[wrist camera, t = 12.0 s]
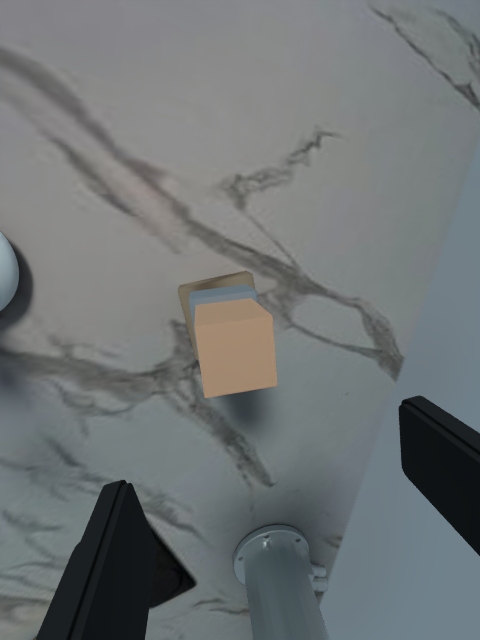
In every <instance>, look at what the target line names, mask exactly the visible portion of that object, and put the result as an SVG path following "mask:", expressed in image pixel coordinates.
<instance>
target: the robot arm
mask: <svg viewBox="0 0 480 640" xmlns="http://www.w3.org/2000/svg"><path fill="white" fill-rule="evenodd" d="M399 425H400V444H401V462H402V469H403V471H404V473H405V475H406V476H407V477H408V479H409V480H410V481H411V482H412V483H413V484H414V485H415V486H416V487H417V488H418V490H419V491H420V492H421V493H422V494H423V495H424V496H425V497H426V498H427V499H428V500H429V501H430V503H431V504H432V505H433V506H434V507H435V508H436V509H437V510H438V511H439V512H440V514H441V515H442V516H443V517H444V518H445V519H446V520H447V521H448V522H449V523H450V524H451V525H452V527H454V529H455V530H456V531H457V532H458V533H459V534H460V535H461V536H462V537H463V538H464V539H465V541H466V542H467V543H468V544H469V545H470V546H471V547H472V548H473V549H474V550H475V551H476V552H477V554H478V555H479V556H480V433H478V432H477V431H475V430H474V429H472V428H471V427H469V426H467V425H466V424H464V423H463V422H461V421H459V420H458V419H457V418H455V417H454V416H452V415H451V414H449V413H447V412H446V411H444V410H443V409H441V408H440V407H438V406H437V405H435V404H434V403H432V402H430V401H429V400H427V399H426V398H424V397H422V396H415V397H412V398H408V399H405V400H403V401H402V404H401V405H400V406H399ZM309 553H310V551H309V546H308V543H307V541H306V538H305V537H304V535H303V534H302V533H301V532H300V531H299V530H297V529H295V528H293V527H290V526H285V525H272V526H267V527H264V528H261V529H258V530H256V531H255V532H253V533H251V534H250V535H248V536H247V537H246V538H245V539H244V540H243V541H242V542H241V543H240V544H239V546H238V547H237V549H236V551H235V553H234V558H233V567H234V573H235V575H236V577H237V579H238V580H239V581H240V582H241V583H242V584H243V585H245V586H246V589H247V597H248V604H249V611H250V618H251V625H252V632H253V639H254V640H330V638H329V635H328V632H327V629H326V626H325V623H324V620H323V617H322V614H321V612H320V608H319V605H318V602H317V599H316V597H315V594H314V591H313V590H315V591H327V590H328V582H327V578H326V577H325V576H326V569H325V567H324V566H323V565H312V564H311V563H310V561H309ZM156 555H157V549H156V542H155V540H154V537H153V535H152V532H151V530H150V527H149V525H148V522H147V520H146V517H145V515H144V512H143V510H142V507H141V505H140V502H139V500H138V497H137V495H136V492H135V490H134V487H133V485H132V484H131V483H128V484H127V483H126V481H125V480H120V481H117V482H113V483H110V484H106V485H105V486H104V487H103V488H102V490H101V493H100V495H99V498H98V500H97V503H96V505H95V508H94V510H93V512H92V515H91V517H90V520H89V522H88V525H87V527H86V530H85V532H84V534H83V537H82V539H81V542H79V543H78V544H77V546H76V547H75V549H74V550H73V552H72V554H71V557H70V559H69V562H68V564H67V566H66V569H65V571H64V573H63V576H62V578H61V581H60V583H59V585H58V588H57V590H56V592H55V595H54V597H53V599H52V602H51V604H50V607H49V609H48V611H47V614H46V616H45V618H44V621H43V623H42V626H41V628H40V630H39V633H38V635H37V637H36V640H145V634H146V627H147V620H148V613H149V606H150V598H151V591H152V584H153V577H154V570H155V563H156Z"/></svg>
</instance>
